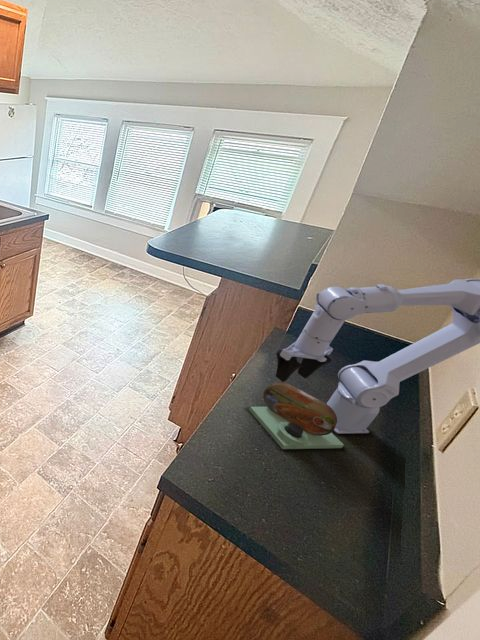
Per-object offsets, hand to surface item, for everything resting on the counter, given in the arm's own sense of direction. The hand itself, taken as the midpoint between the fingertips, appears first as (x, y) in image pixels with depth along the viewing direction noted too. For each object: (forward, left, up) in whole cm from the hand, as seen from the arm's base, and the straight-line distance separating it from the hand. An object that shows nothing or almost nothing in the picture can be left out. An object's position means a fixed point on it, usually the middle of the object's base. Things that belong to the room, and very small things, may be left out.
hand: (291, 377), depth 97 cm
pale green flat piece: (0, +7, -10) cm, 13 cm away
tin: (0, +5, -9) cm, 11 cm away
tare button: (+5, +11, -8) cm, 14 cm away
